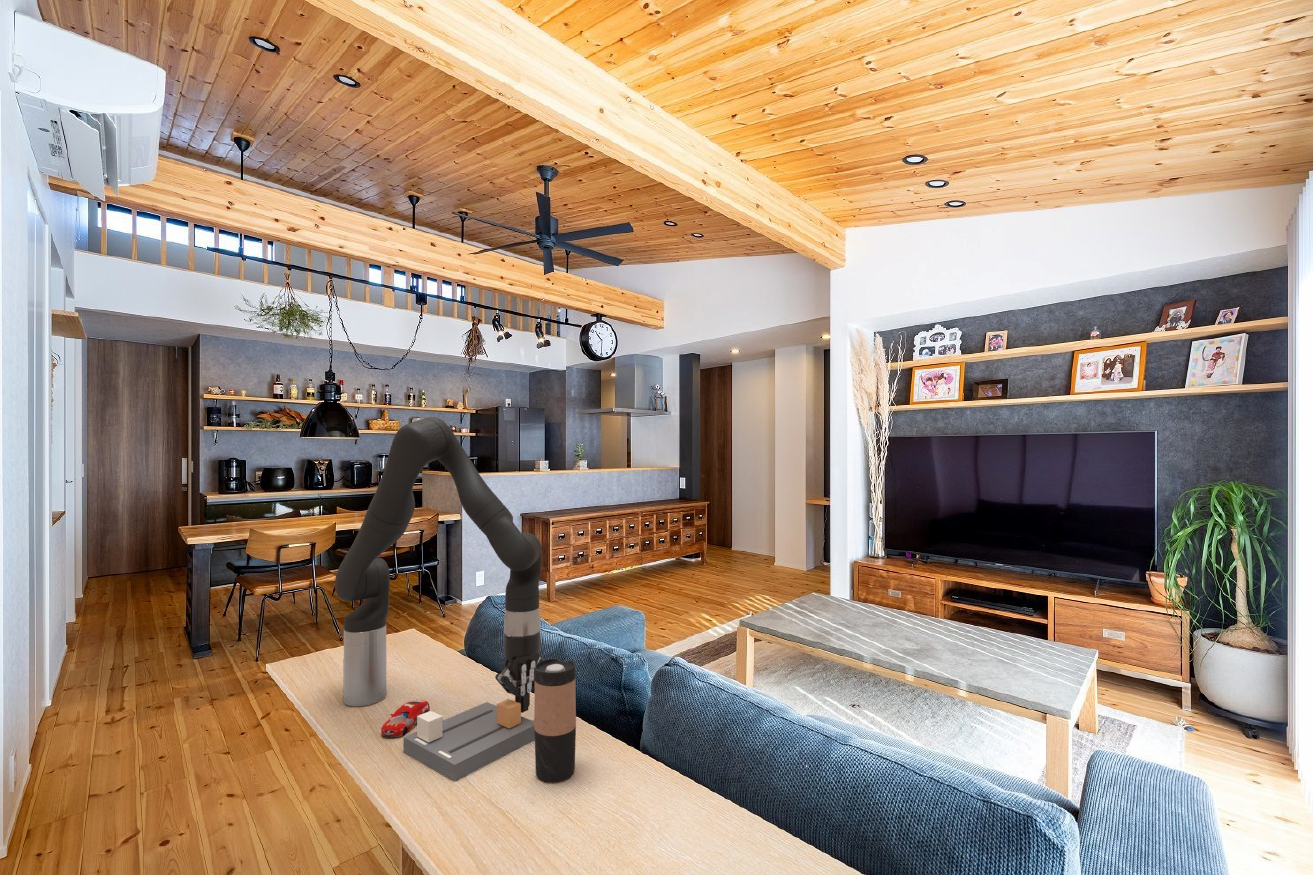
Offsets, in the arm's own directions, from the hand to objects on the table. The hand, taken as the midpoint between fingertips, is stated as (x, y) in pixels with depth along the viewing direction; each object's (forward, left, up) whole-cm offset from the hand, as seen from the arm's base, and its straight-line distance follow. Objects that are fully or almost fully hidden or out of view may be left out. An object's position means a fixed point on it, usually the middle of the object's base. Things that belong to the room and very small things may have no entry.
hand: (522, 710), depth 128 cm
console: (-4, -10, -4) cm, 11 cm away
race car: (-23, -13, -5) cm, 27 cm away
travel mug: (+17, -7, -5) cm, 19 cm away
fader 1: (-8, -17, -1) cm, 19 cm away
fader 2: (0, -4, -1) cm, 4 cm away
